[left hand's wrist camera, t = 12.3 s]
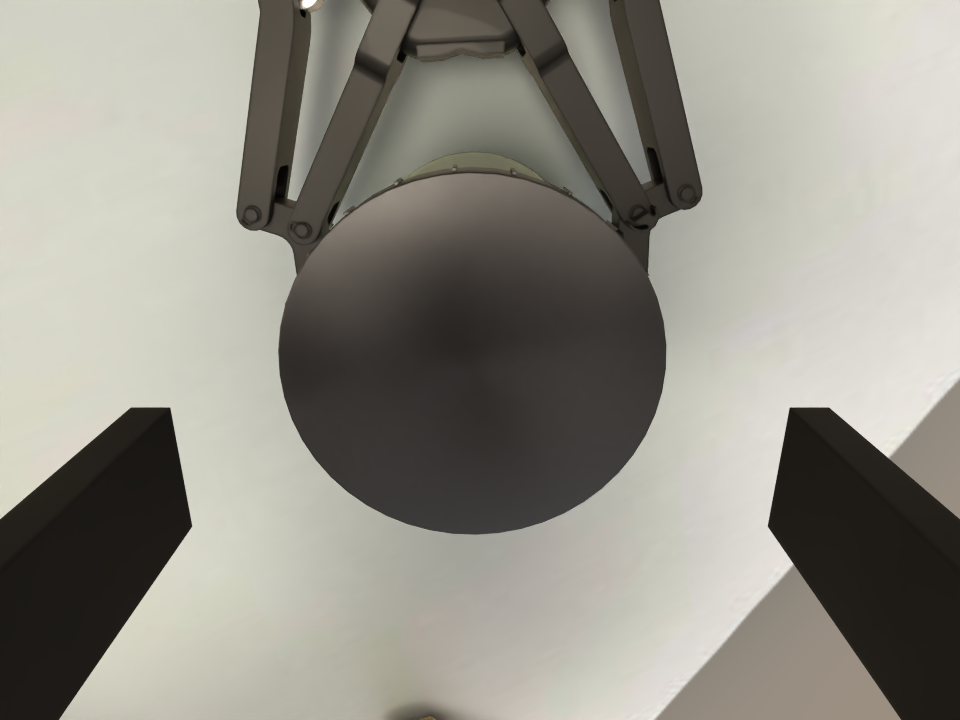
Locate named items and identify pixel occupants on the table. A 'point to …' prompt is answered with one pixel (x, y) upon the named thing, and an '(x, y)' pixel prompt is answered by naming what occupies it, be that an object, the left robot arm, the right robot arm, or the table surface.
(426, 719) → the sculpture
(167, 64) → the table surface
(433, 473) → the lid
